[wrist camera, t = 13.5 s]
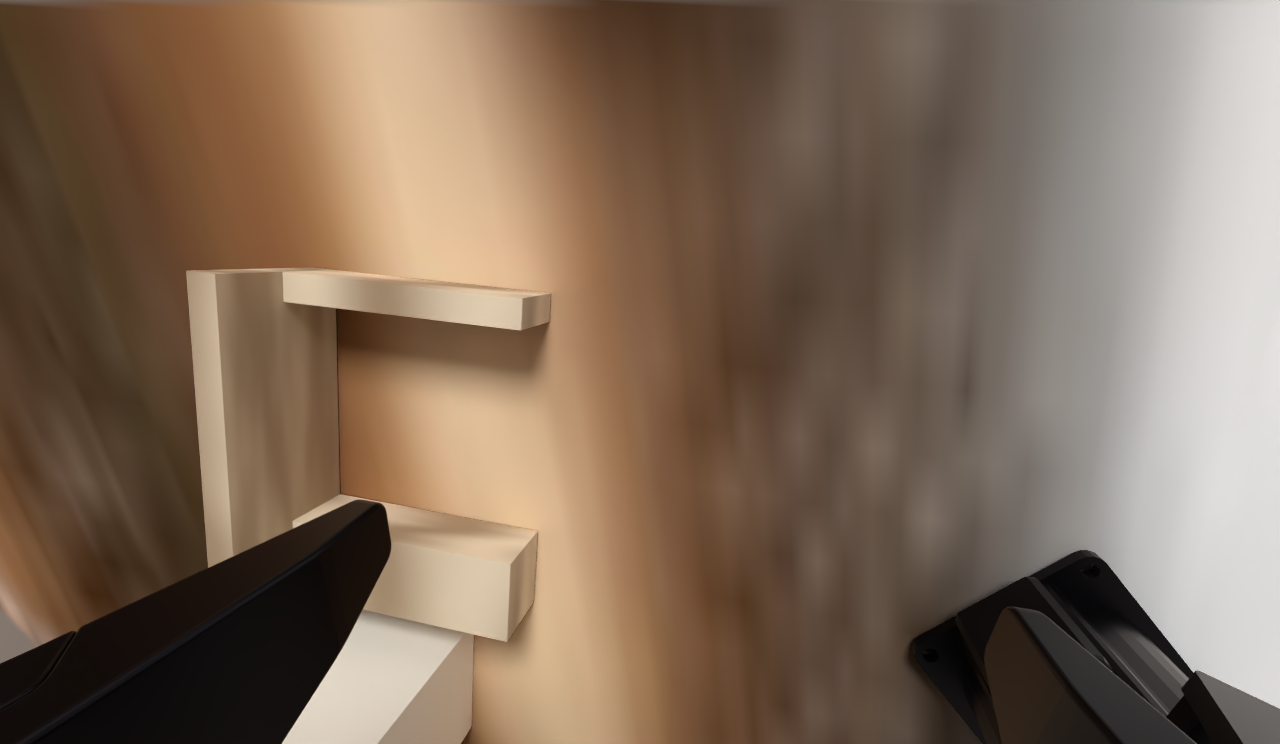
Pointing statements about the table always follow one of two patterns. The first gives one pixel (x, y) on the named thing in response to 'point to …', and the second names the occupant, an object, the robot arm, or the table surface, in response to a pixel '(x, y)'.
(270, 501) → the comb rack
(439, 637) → the plug block
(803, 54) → the table surface
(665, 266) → the table surface
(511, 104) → the table surface
